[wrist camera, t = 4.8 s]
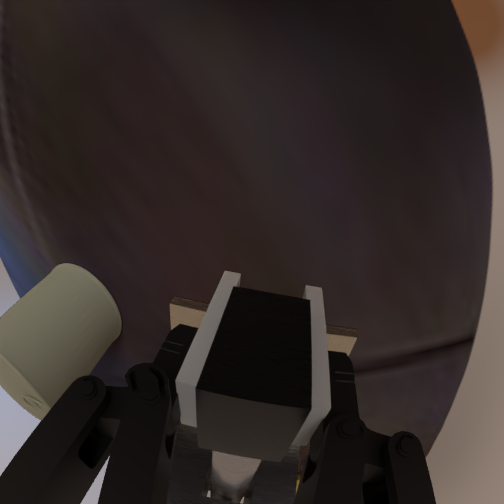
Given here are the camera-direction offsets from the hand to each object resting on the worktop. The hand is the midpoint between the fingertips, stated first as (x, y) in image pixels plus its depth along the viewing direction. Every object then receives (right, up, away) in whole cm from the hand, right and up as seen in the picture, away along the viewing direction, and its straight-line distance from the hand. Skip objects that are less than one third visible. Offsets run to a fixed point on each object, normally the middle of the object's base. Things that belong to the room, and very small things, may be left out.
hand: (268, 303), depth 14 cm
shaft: (-2, -11, +3) cm, 12 cm away
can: (-17, -3, +11) cm, 20 cm away
